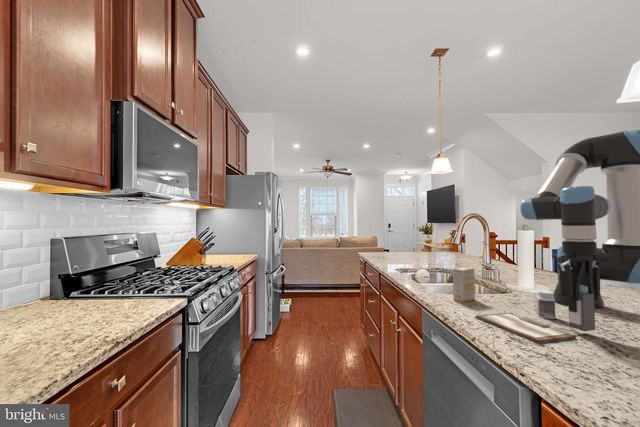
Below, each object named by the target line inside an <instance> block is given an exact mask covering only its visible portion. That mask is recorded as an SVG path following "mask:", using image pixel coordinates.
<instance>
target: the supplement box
mask: <svg viewBox="0 0 640 427" xmlns="http://www.w3.org/2000/svg"><path fill="white" fill-rule="evenodd" d="M475 288H476V287H475V267H467V266H466V267H465V266H462V267H456V268H452V291H453V292H452V293H453V298H452V299H453V301H454V302H455V301H456V302H459V303H466V302H471V301H474V300H476V290H475Z"/></svg>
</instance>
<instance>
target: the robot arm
mask: <svg viewBox="0 0 640 427" xmlns="http://www.w3.org/2000/svg"><path fill="white" fill-rule="evenodd" d="M593 168H600V171H601V172H602V173H603V174H605V175H606V197H605V196H602V195H599V194H595V188H594V187H593V186H591V185H581V186H580V185H579V186H573V184H574V182H575V181H576V179H577V177H578V175H580V174H581V173H583V172H585V170H587V169H593ZM519 207H520V209H519V210H520V213H521V216H522V217H523V219H525V220H531V221H532V220H534V221H540V220H541V221H544V220H545V221H548V220H549V221H551V220H553V221H554V220H561V224H560V225H561V238H562V239H563V240H562V241H561V246H559V247H558V248H557V256H556V259H557V260H556V261H557V283H556V287H555V289H554V292H553V297H552V298H554V299H555V304H560V305H563V306H568V308H567V309H568V320H569V319H570V322H572V323H575V324H578V325H582V318H581V301H578V298H579V290H580V285H584V286H588V293H591V294H594V310H595V309H598V310H599V309H603V308H604V307H605V303H604V299H603V297H602V295H601V280H602V281H610V282H619V283H627V284H637V285H640V129H637V128H636V129H632V130H623V131H620V132H619V131H618V132H615V133H610V134H604V135H599V136H594V137H588V138H585V139H582V140H580V141H578V142H577V143H574V144H573V145H571V146H570V147H568V148H566V149H565V150H564V151H563V152H562V153H561V154H560V155H559V156H558V157H557V159H556V161H555V167H554V169H553V170H552V172H551V173H550V175H549V176H548V177H547V179H546V181H544V183H543V184H542V186H541V188H540V189H539V190H538V192H537V194H536V195H535V196H534V197H529V198H525V199H523V200H522V201H521V203H520V206H519ZM605 216H606V218H607V219H606V220H607V222H606V224H607V227H606V228H607V239H606V240H605V241H604V242H602V244H601V247H600V248H599V247H598V246H597V241H595V240H596V239H597V226H596V224H597V223H596V220H599V219H603V218H604V217H605ZM573 295H574V296H573Z"/></svg>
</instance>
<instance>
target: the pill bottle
mask: <svg viewBox="0 0 640 427" xmlns="http://www.w3.org/2000/svg"><path fill="white" fill-rule="evenodd" d="M537 292H538V296H537V299H536V300H537V316H538V317H539V318H542V319H549V320H554V319H556V302H555V299H554V298H553V294H554V292H552V291H549V290H548V291H547V290H538V291H537Z"/></svg>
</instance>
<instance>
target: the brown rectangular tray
mask: <svg viewBox="0 0 640 427" xmlns="http://www.w3.org/2000/svg"><path fill="white" fill-rule="evenodd" d="M475 319H477V320H479V321H482V322H484V323H487V324H490V325H491V326H493V327H494V326H495V327H497V328H499V329H502V330H504V331H506V332H508V333H511V334H514V335H515V336H518V337H521V338H524V339H526V340H528V341H531V342H534V343H535V344H545V343H551V342H552V343H553V342H561V341H569V340H576V338H577V336H576V335H575V334H572V333H568V332H566V331H562V330H559V329H556V328H553V327H551V326H550V324H547V323H543V322H542V321H541V322H540V321H537V320H536V319H531V318H529V317H525V316H522V317H520V316H518V315H515V314H512V313H509V312H502V313H501V312H500V313H489V314H477V315H475Z"/></svg>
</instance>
